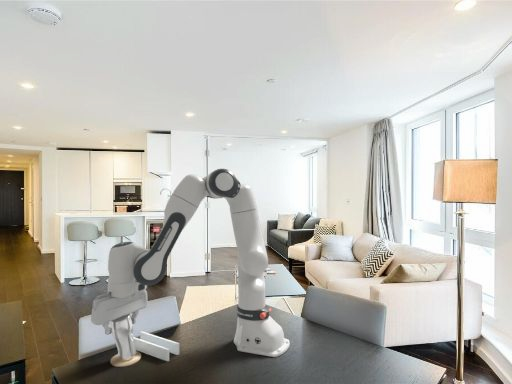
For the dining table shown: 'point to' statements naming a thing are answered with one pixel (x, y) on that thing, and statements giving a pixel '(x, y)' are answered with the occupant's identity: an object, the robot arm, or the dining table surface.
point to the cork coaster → (118, 363)
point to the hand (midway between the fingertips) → (120, 328)
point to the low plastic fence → (155, 346)
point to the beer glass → (123, 337)
